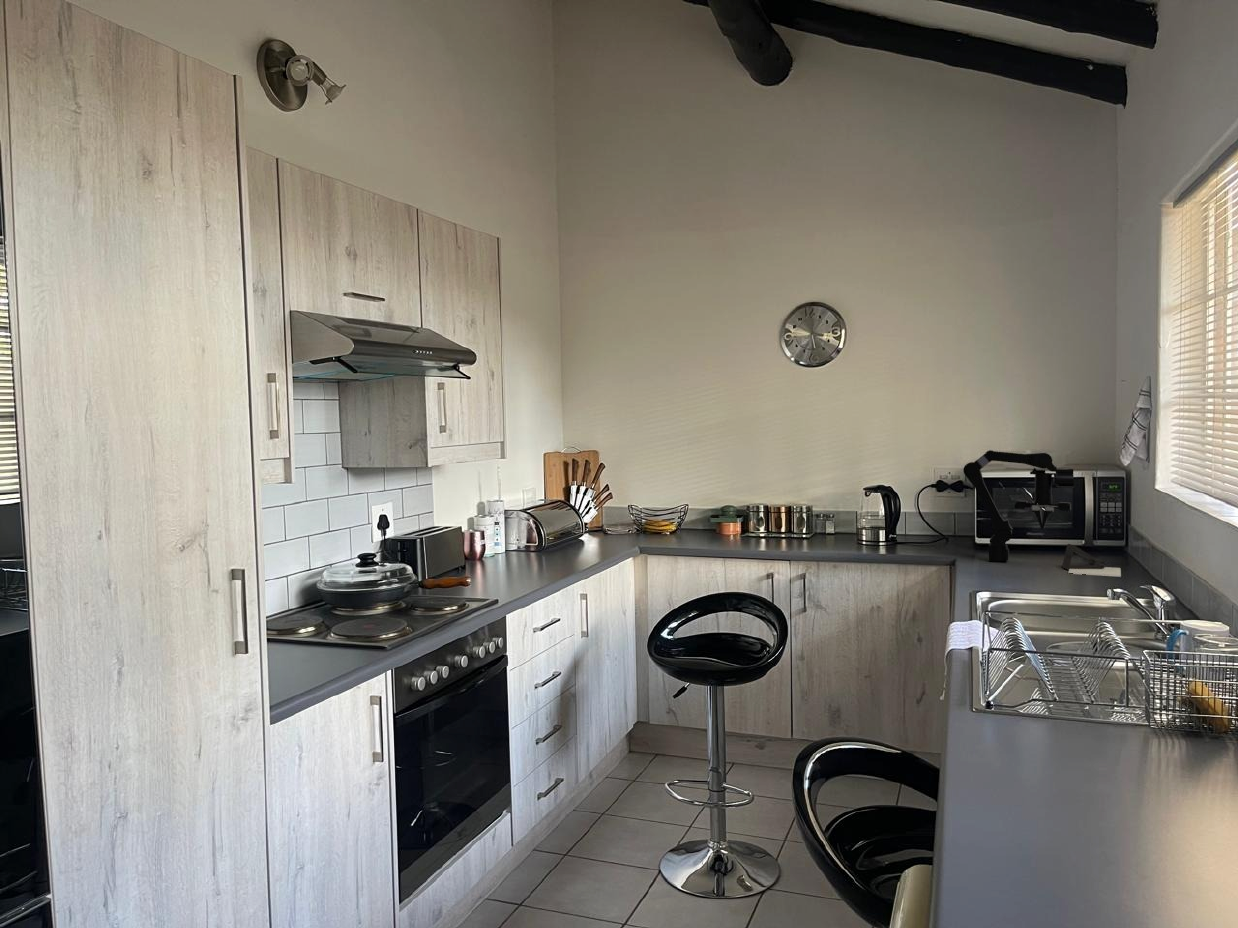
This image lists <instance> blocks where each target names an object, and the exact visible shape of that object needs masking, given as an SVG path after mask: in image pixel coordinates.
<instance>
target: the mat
mask: <svg viewBox="0 0 1238 928" xmlns="http://www.w3.org/2000/svg"><path fill="white" fill-rule="evenodd" d="M1104 567H1105V568H1103V569H1099V568H1087V569H1069V570H1068V574H1069V573H1073V574H1072V575H1082V574H1086V576H1104V577H1105V576H1106V577H1120V578H1121V577H1122V574H1121V573H1122V572H1121V571H1122V570H1121V567H1106V566H1104Z"/></svg>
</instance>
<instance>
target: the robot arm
mask: <svg viewBox="0 0 1238 928" xmlns="http://www.w3.org/2000/svg"><path fill="white" fill-rule="evenodd" d="M992 461H993V462H1002V463H1013V464H1014V463H1015V464H1021V465H1022V464H1023V465H1027V466H1031V467H1033V469H1032V470H1031V471H1030V472H1029V475H1034V492H1033V491H1032V494H1031V501H1032V502H1029V501H1028V500H1016V501H1015V503H1014V509H1016V510H1020V509H1021V510H1024V509H1026V508H1031V512H1032V513H1034V515H1035V516H1036V518H1037V520H1038V521H1037V522H1038V524H1039V526H1040V527H1039V528H1040V529H1041V530H1044V529H1045V526H1046V525H1047V521H1048V518H1049V516H1050V515H1051V513H1054V512H1055V509H1058V510H1059V511H1064V512H1070V511H1071V510H1072V503H1071V502H1068V501H1066V502H1065V501H1059V502H1058V503H1053V495H1052V494H1053V493H1052V490H1053V489H1052V488H1053V487H1052V486H1053V485H1056V487H1057V488H1075V477H1074V469H1073V468H1066V469H1065V468H1064V469H1063V468H1061V469H1060V468H1057V466H1055V465H1054V463H1053V458H1052V456H1051V455H1050V454H1049V453H1047V452H1036V453H1035V452H1034V453H1019V452H1018V453H1017V452H1007V451H997V450H996V451H995V450H992V449H990V450H987V451H986V452H984V454H983V455H982V456H980V457H979V458H977V459H976V460H975V461H970V462H968V463H967V464H965V465H964V466H963V471H962V472H963V474H964V475H965V477H966V478H967V480H968V481H969V483H971V485H972V486H973V487H974V489H975V490H976V493H977V495H978V496H979V498H980V500H981V503H982V505H983V507H984V508H985V511H986V512H987V514H988V515H987V516H989V518H990V522H991V524H992V528H993V531H994V534H993V535H992V536H991V537H989V544H988V559H989V561H988V562H990V561H1007V562H1008V561H1009V559H1010V558H1009V557H1010V555H1009V554H1010V549H1009V548H1008V544H1006V543H1007V542H1009V541H1010V540H1011V539H1012V537H1013V527H1012V526H1011V524H1010V521H1009V518H1006V519H1004V518H1003V517H1002V515H1001V513H1000V512H999V509H998V507H997V506H996V505H997V504H995V502H994V500H993V498H992V496H991V494H990V491H989V489H988V488H987V486H986V483H985V481H984V476H983V473H982V470H981V469H983V468H984V467H986V466H987V465H988V464H990V463H991V462H992ZM1038 468H1039V469H1038ZM1045 469H1046V470H1048V471H1050V472H1046V470H1045ZM1052 480H1053V481H1052ZM1042 509H1045V510H1044V511H1043V515H1042Z"/></svg>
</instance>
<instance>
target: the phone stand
mask: <svg viewBox="0 0 1238 928" xmlns="http://www.w3.org/2000/svg"><path fill="white" fill-rule="evenodd" d="M1064 552H1065V553H1064V557H1063V561H1062V565H1061V568H1062V567H1063V568H1062V569H1064V568H1065V569H1064V570H1066V569H1067V571H1069V569H1087V568H1099V569H1103V568H1105V567H1106V566H1104V565H1106V562H1105V561H1104V560H1101V559H1098V558H1096V557H1094V556H1092V555H1091V554H1089V553H1088V552H1086V551H1084V550H1082V549H1081V548H1079V547H1078V546H1076V545H1074V544H1071V543H1068V544H1067V545H1066V548H1065V551H1064ZM1074 553H1076V554H1077V555H1079V556H1081V557H1083V558H1086V559H1088V562H1072V558H1073V554H1074ZM1098 563H1100V564H1098ZM1103 564H1104V565H1103Z"/></svg>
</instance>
